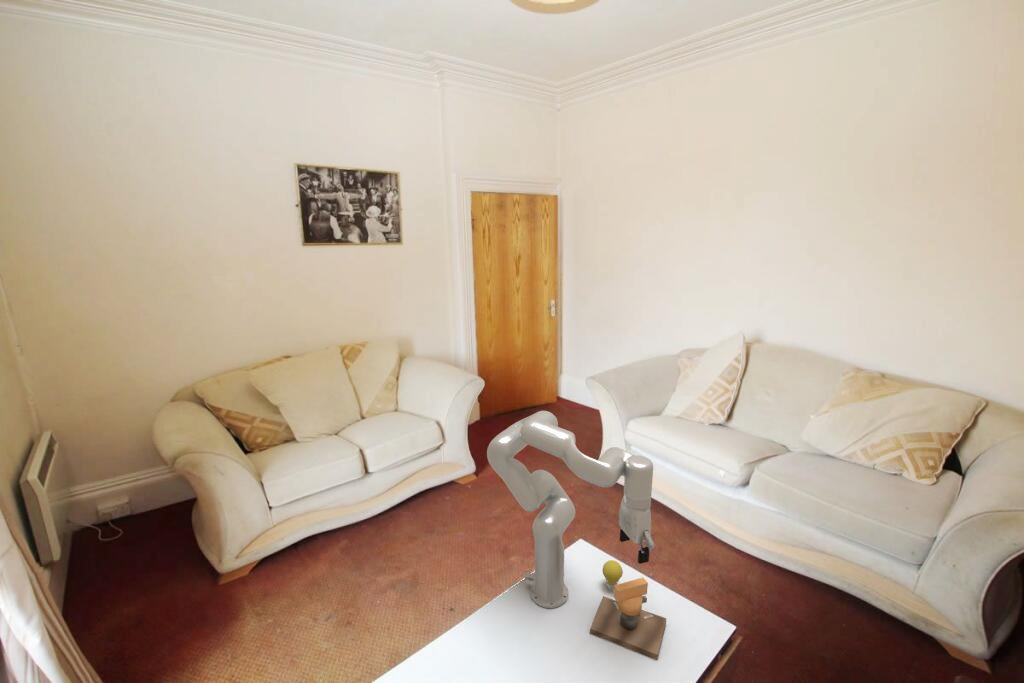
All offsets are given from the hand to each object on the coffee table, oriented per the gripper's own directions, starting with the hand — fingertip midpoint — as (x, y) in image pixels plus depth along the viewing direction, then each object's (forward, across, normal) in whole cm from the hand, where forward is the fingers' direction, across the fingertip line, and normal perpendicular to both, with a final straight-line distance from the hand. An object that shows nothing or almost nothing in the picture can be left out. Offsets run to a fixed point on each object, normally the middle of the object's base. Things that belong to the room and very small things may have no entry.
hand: (633, 550), depth 137 cm
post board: (+28, 0, 0) cm, 28 cm away
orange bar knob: (+20, 0, 0) cm, 20 cm away
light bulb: (+28, -16, +4) cm, 33 cm away
